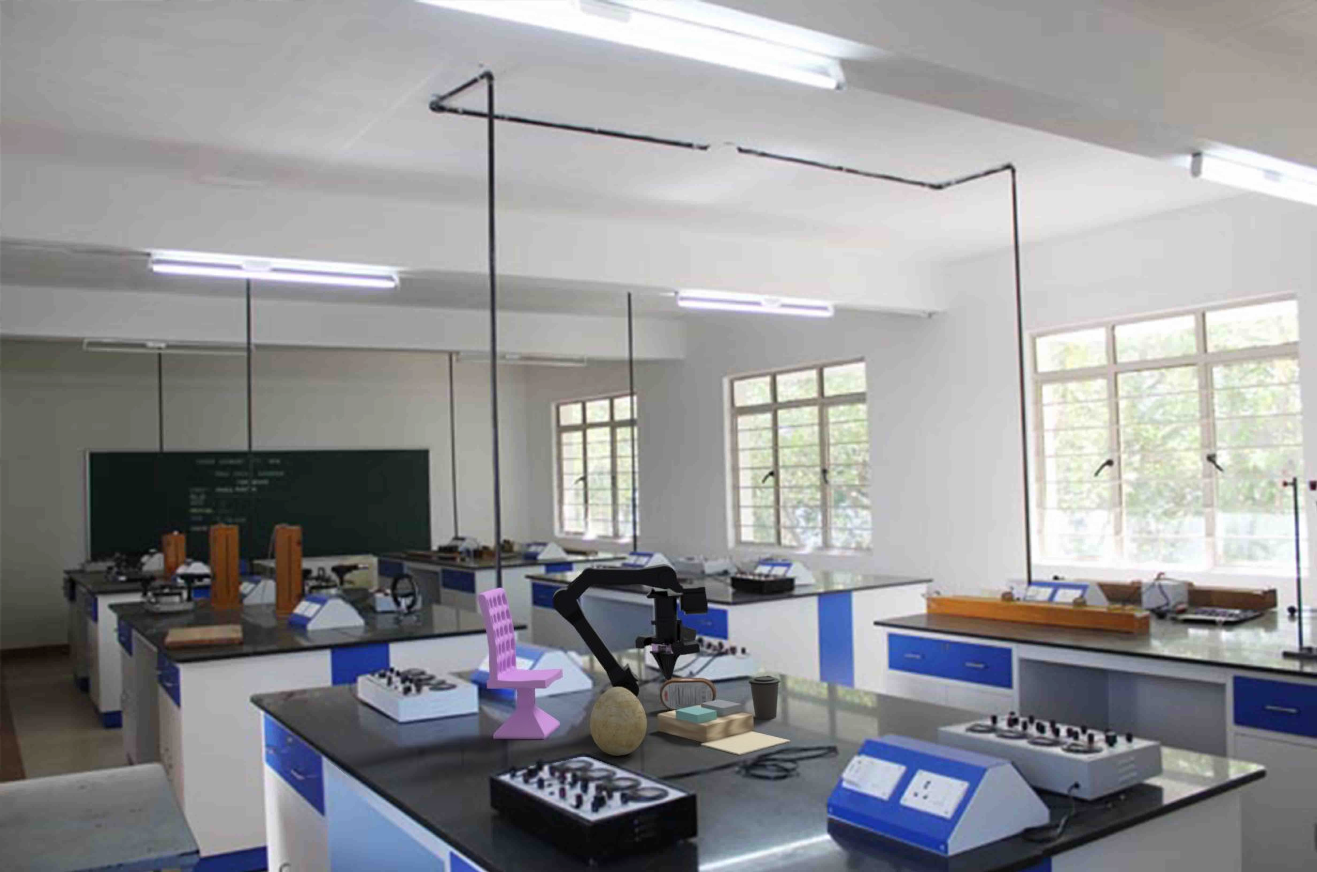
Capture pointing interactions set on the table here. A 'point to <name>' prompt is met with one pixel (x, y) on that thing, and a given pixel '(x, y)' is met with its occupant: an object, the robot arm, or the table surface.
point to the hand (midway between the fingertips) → (668, 679)
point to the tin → (686, 692)
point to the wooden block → (706, 726)
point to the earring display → (514, 672)
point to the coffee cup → (765, 696)
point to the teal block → (696, 714)
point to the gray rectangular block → (723, 707)
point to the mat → (745, 743)
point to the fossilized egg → (618, 722)
